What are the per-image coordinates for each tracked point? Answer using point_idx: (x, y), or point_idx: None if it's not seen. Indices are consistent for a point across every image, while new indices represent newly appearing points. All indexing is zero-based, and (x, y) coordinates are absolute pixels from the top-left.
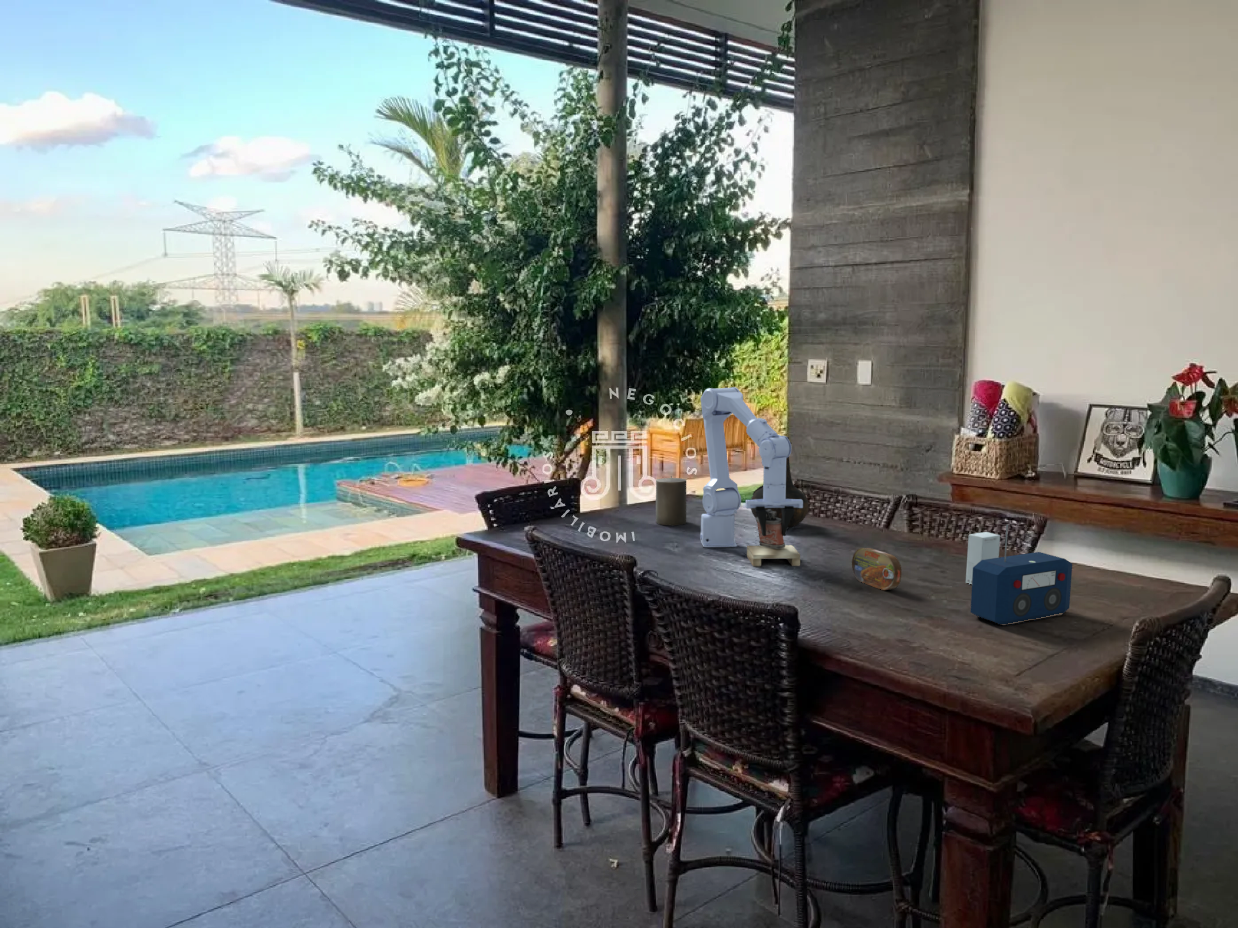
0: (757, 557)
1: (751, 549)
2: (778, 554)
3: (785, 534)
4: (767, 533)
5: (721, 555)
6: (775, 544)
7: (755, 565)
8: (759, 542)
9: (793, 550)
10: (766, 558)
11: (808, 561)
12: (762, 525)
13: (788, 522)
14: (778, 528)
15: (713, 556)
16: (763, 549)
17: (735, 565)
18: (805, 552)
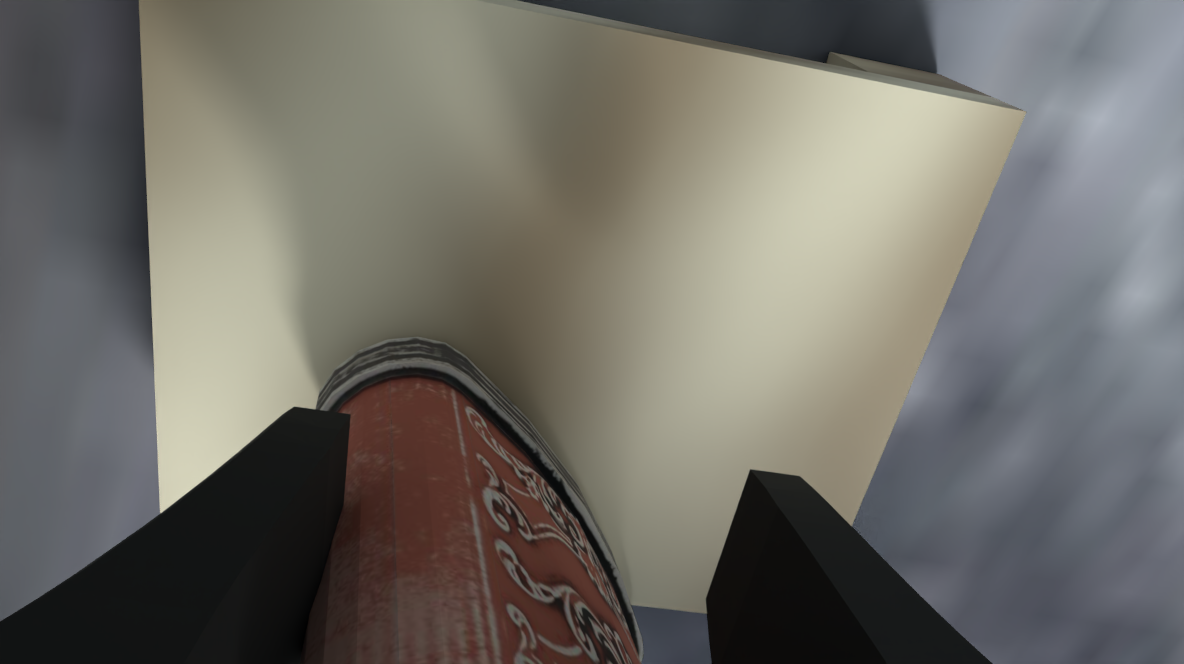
0: (935, 87)
1: (861, 437)
2: (573, 36)
3: (282, 417)
4: (612, 644)
5: (1011, 606)
6: (492, 423)
7: (911, 69)
8: (641, 647)
9: (209, 254)
10: (780, 55)
11: (32, 165)
12: (961, 644)
13: (38, 606)
14: (422, 593)
15: (1114, 587)
16: (684, 408)
17: (1132, 180)
18: (9, 569)
